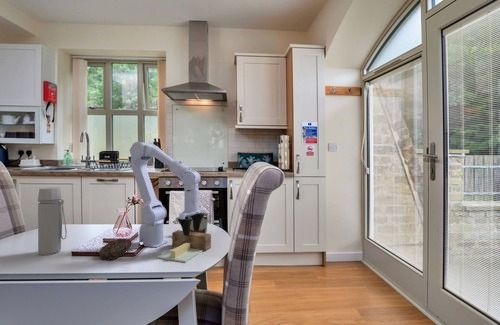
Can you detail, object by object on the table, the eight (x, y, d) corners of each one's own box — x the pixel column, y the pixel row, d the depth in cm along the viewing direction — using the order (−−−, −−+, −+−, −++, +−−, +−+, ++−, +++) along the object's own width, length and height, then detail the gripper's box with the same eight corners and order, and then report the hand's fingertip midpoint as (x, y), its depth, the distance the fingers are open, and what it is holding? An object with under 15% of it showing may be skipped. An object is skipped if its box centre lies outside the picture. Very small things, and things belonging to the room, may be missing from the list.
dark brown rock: (116, 248, 107) (116, 236, 107) (136, 251, 104) (136, 239, 104) (91, 258, 97) (91, 244, 97) (112, 262, 93) (112, 248, 93)
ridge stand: (157, 258, 97) (157, 250, 97) (176, 248, 108) (176, 240, 108) (185, 262, 93) (185, 254, 93) (202, 251, 104) (202, 243, 104)
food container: (213, 233, 130) (213, 213, 130) (207, 236, 124) (208, 215, 124) (190, 231, 133) (190, 211, 133) (184, 234, 127) (184, 214, 127)
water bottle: (33, 257, 97) (33, 189, 97) (43, 250, 105) (43, 187, 105) (62, 254, 100) (62, 188, 100) (70, 248, 107) (70, 186, 107)
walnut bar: (172, 246, 110) (172, 232, 110) (178, 244, 114) (178, 230, 114) (205, 251, 105) (205, 236, 104) (210, 248, 108) (210, 234, 108)
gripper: (190, 203, 101) (190, 238, 101) (208, 198, 115) (208, 229, 115) (174, 202, 103) (174, 237, 103) (194, 197, 117) (194, 228, 117)
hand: (191, 233), depth 109 cm, fingers open, 7 cm apart
